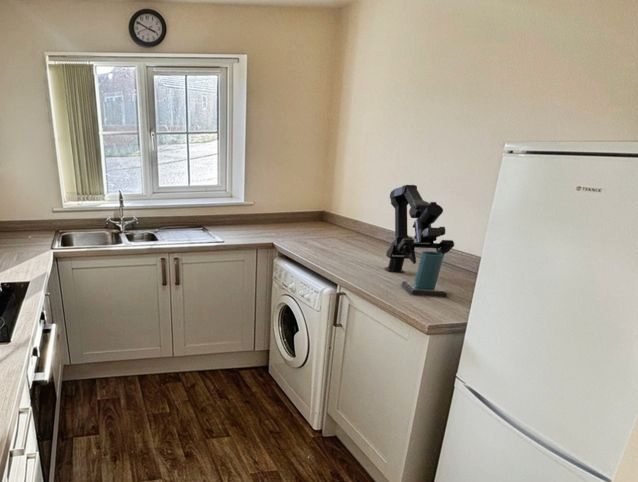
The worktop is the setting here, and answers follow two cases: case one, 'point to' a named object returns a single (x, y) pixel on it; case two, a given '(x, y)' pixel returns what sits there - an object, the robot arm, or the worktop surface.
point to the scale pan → (436, 289)
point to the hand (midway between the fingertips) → (427, 263)
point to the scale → (425, 293)
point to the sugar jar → (428, 269)
